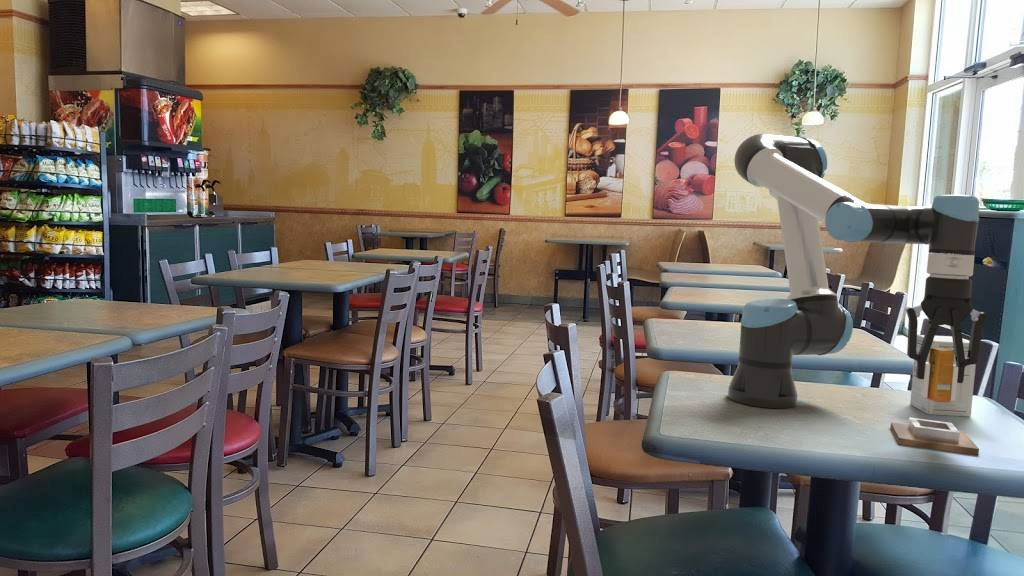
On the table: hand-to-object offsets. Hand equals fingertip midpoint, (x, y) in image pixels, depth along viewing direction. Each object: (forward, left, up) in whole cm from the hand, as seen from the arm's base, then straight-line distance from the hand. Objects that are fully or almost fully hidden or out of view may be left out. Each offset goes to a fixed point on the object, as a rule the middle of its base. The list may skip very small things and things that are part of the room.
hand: (937, 397), depth 136 cm
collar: (0, 0, -8) cm, 8 cm away
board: (0, 0, -9) cm, 9 cm away
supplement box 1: (0, 0, -1) cm, 1 cm away
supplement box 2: (+6, +29, -9) cm, 31 cm away
